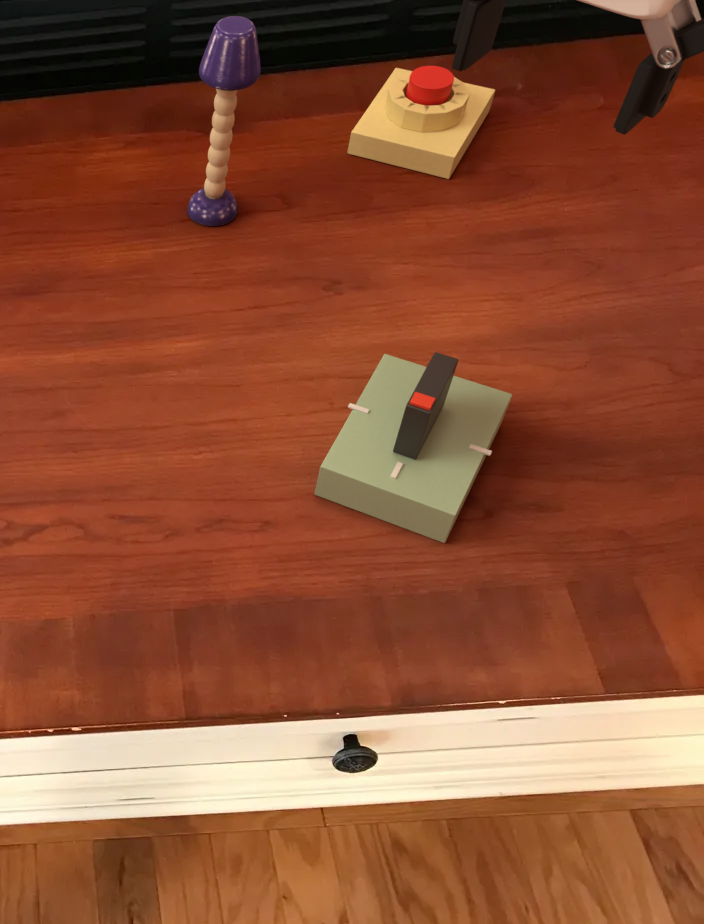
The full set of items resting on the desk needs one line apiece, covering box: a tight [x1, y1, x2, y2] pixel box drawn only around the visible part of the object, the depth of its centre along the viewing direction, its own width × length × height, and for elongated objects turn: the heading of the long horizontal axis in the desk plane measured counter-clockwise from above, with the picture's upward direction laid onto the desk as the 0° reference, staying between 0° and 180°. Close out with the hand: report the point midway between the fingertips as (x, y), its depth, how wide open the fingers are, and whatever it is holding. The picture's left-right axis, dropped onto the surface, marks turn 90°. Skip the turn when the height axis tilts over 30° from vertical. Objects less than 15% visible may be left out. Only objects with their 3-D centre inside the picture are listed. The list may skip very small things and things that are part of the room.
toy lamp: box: [186, 15, 262, 227], centre depth 91 cm, size 5×5×17 cm
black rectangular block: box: [393, 351, 459, 460], centre depth 75 cm, size 6×2×5 cm, turn 147°
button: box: [406, 65, 455, 106], centre depth 98 cm, size 4×4×2 cm
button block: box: [347, 67, 496, 180], centre depth 100 cm, size 11×9×4 cm
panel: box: [314, 353, 513, 544], centre depth 78 cm, size 12×10×3 cm
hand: (548, 90), depth 64 cm, fingers open, 9 cm apart
